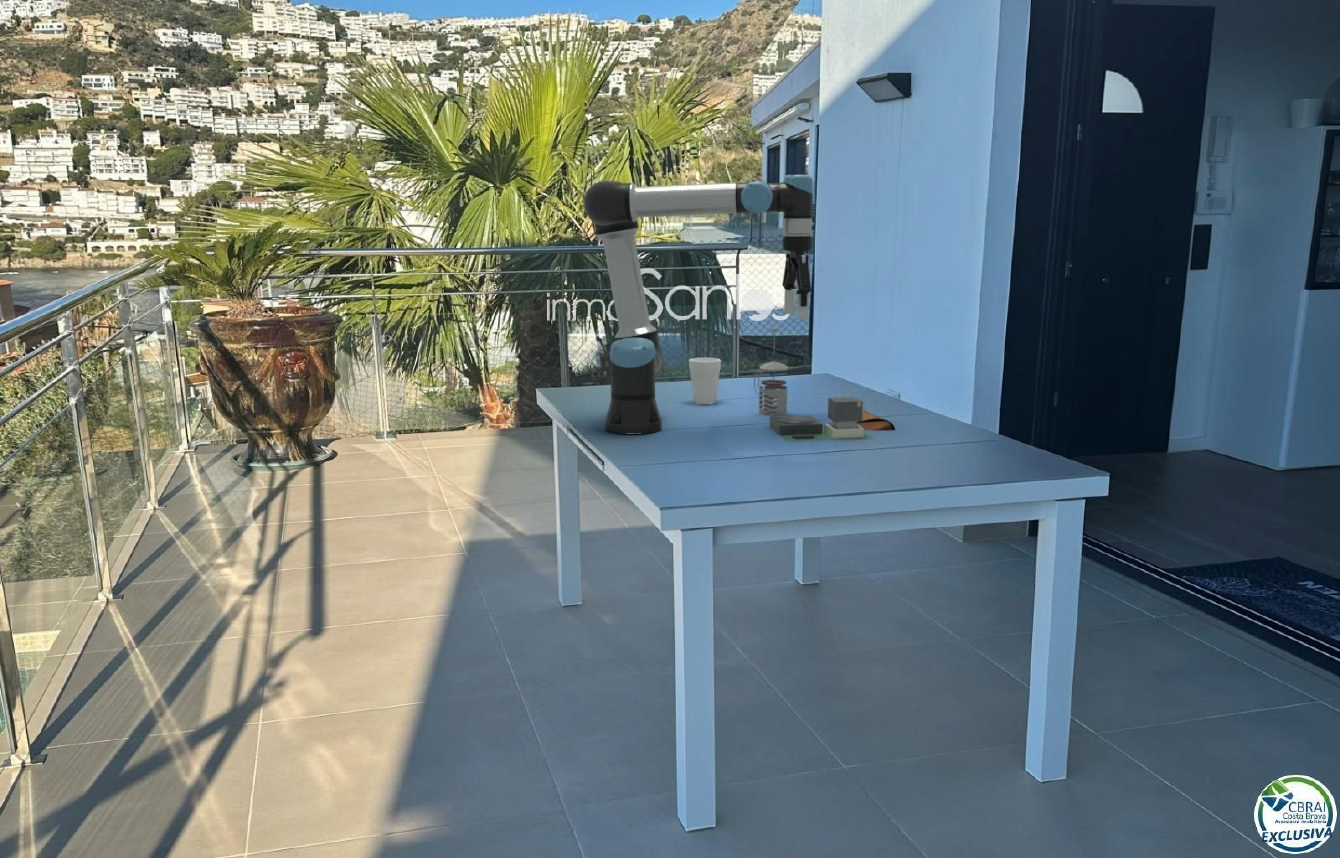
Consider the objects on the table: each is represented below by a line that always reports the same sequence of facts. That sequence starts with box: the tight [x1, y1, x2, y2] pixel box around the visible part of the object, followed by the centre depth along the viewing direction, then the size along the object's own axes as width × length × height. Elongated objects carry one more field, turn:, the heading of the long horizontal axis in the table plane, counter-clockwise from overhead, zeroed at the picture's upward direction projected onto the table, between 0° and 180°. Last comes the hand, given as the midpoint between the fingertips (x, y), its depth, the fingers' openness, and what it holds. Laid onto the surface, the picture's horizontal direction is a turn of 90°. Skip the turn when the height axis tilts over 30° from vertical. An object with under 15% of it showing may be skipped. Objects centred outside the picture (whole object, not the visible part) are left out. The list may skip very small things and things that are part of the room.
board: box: [774, 421, 873, 442], centre depth 261 cm, size 22×18×3 cm
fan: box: [769, 415, 824, 436], centre depth 264 cm, size 11×11×3 cm
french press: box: [753, 326, 789, 416], centre depth 286 cm, size 10×12×25 cm
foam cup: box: [688, 357, 722, 405], centre depth 307 cm, size 10×9×13 cm
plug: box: [827, 396, 864, 429], centre depth 257 cm, size 7×6×9 cm
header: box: [824, 423, 865, 438], centre depth 258 cm, size 8×7×2 cm
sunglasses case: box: [857, 408, 896, 432], centre depth 271 cm, size 18×7×7 cm, turn 14°
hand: (795, 316), depth 274 cm, fingers open, 13 cm apart
